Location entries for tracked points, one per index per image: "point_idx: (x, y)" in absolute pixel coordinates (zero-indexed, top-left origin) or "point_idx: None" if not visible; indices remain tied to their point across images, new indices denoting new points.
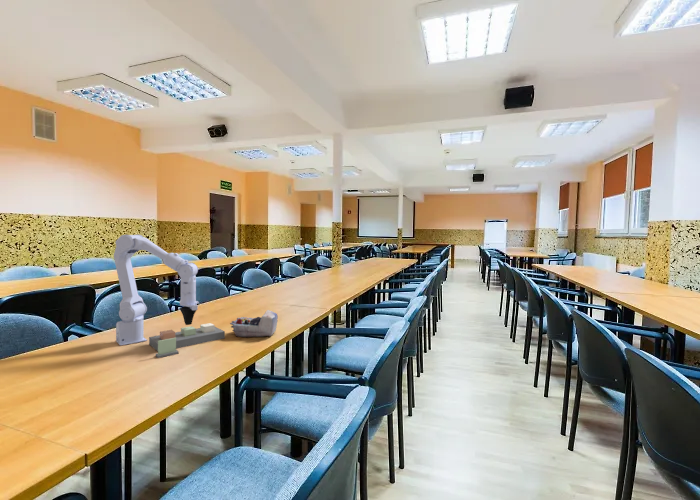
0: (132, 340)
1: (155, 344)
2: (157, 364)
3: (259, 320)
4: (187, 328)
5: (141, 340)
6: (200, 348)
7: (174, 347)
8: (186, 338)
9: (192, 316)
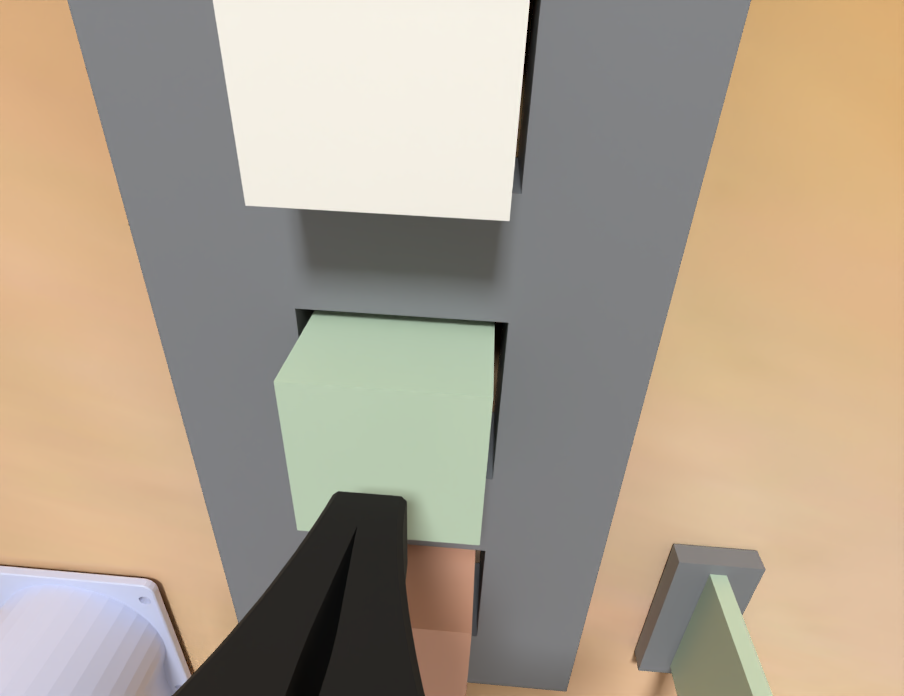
0: (157, 667)
1: None
2: (832, 692)
3: None
4: (388, 481)
5: (152, 613)
6: (829, 358)
7: (736, 622)
8: (598, 492)
9: (413, 680)
